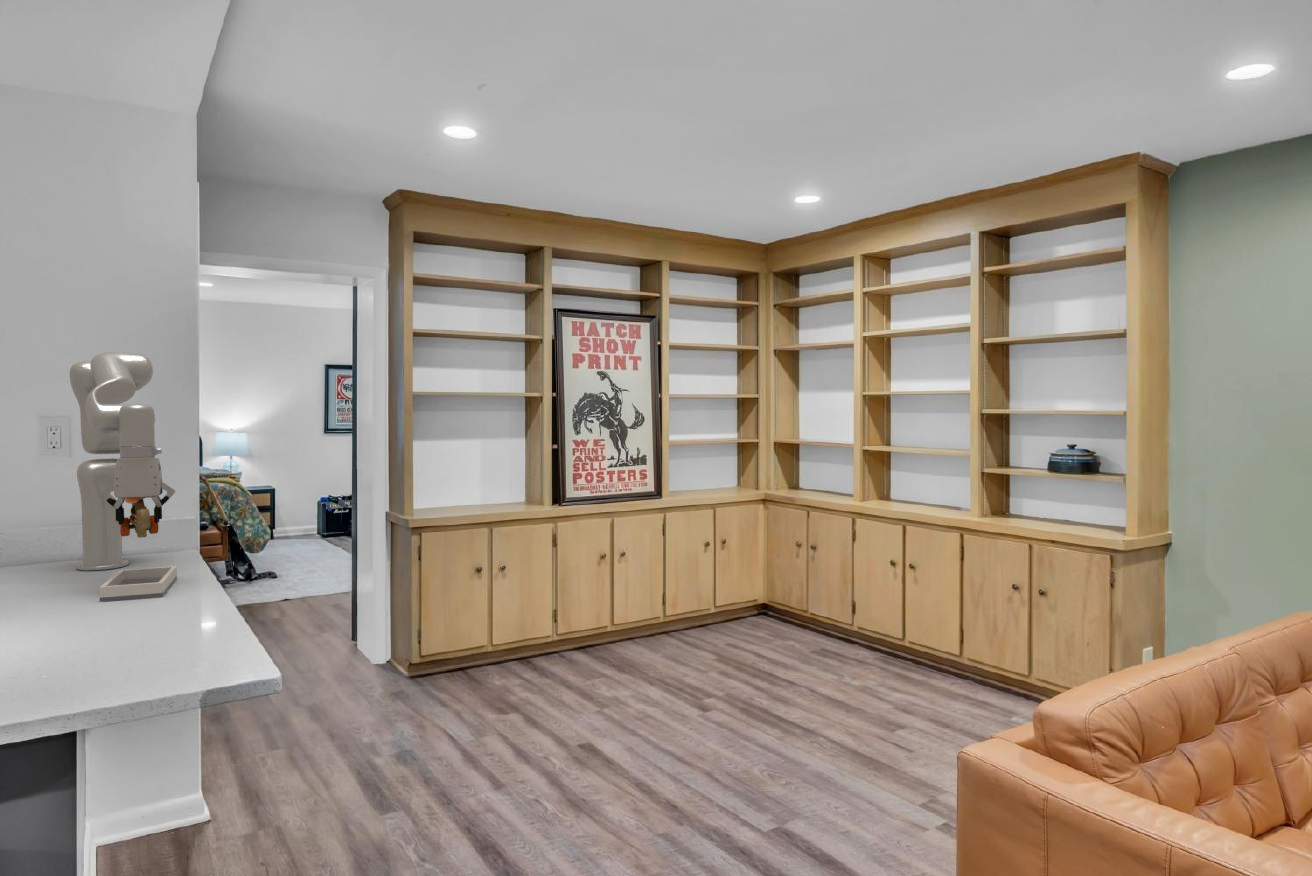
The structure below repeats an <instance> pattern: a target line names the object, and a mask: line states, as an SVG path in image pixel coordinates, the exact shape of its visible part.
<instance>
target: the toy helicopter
mask: <svg viewBox="0 0 1312 876" xmlns="http://www.w3.org/2000/svg"><path fill="white" fill-rule="evenodd" d="M144 499H145V498H126V499H125V501H124V503H127V504H131V508H130V515H129V517H126V516H125V517H124V523H123V524H121V525H120V534H121V536H122V537H128V536H130V533H131V530H133V529H134V530H135V534H136V535H137V536H136V537H137V538H146V537H147V536H148V533H149V534H151V535H153V534H158V533H159V522H158V523H155V522H154V514H153V515H151V514H150V510H149V508H148V507H147V506H146V505H145V500H144ZM147 531H148V532H147Z"/></svg>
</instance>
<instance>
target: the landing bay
mask: <svg viewBox="0 0 1312 876" xmlns="http://www.w3.org/2000/svg"><path fill="white" fill-rule="evenodd" d="M177 572H178V568H177V565H175V566H174V565H173V566H160V567H159V566H158V567H147V568H146V567H144V568H133V569H132V568H131V569H120V570H118V572H116V573H115V574H114V575H112V576H111V577H110V578H109V579H107V580H106V581H105V582H104V583H102V585H100V586H99V588H98V589H99V590H98V591H99V602H100V601H105V602H115V601H126V600H127V601H128V600H139V599H140V600H141V599H142V598H143V599H153V598H152V597H155V598H162V597H161V596H163V595H164V594H165V593H166V594H167V592H168V591H169V590H170V588H171V587H172V586H173V585H174V584H175V582H176V581H177V580H176V579H178V573H177ZM175 580H176V581H175ZM174 581H175V582H174ZM172 584H173V585H172ZM169 587H170V588H169ZM168 589H169V590H168ZM167 590H168V591H167ZM166 594H165V595H166ZM165 595H164V596H165ZM164 596H163V597H164Z"/></svg>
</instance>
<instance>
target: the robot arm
mask: <svg viewBox="0 0 1312 876" xmlns="http://www.w3.org/2000/svg"><path fill="white" fill-rule="evenodd" d="M153 373H154V368H153V363H152V362H151V360H150V358H148V356H146V355H145V354H143V353H138V352H136V353H131V352H111V351H110V352H108V351H107V352H101V353H99V354H97V355H95V356H94V357H92V358H91V360H85V361H79V362H75V363H73V365H71V367H70V369H69V383H70V386H71V390H72V392H73V394H74V396H75V399H76V400H77V402H78V407H79V412H80V416H79V417H80V418H79V419H80V435H81V445H82V448H83V450H84V452H86V453H87V454H91V455H118V454H119V457H118V458H114V457H113V458H95V459H89V460H85V461H83V462H81V463H80V464H78V466H77V470H76V477H77V483H78V488H79V492H80V493H79V495H80V501H81V503H80V504H81V532H82V533H81V534H82V535H81V537H82V540H81V541H82V562H81V563H78V564H77V565H76V569H77V570H79V571H102V570H103V571H104V570H113V569H118V568H122V567H126V566H128V565H129V564H130V563H129V559H123V536H121V534H120V525H121V524H123V523H124V518H125V508H124V507H123V504H124V503H125V500H126V499H127V498H144V499H149V498H150V499H151V500H152V501H153V503H154V508H153V515H154V522H155V523H158V524H159V522H160V520H162V519H163V509H162V506H163V505H165V504H166V503H167V502H168V501H169V500H170V499H171V498H172V496H173V495H175V493H176V490H175V488H172V487H171V486H170V485H168V483H167V484H166V483H165V482H163V475H162V474H163V473H162V467H161V462H160V458H159V457H158V458H156V456H157V455H161V454H163V453H162V448H158V447H156V437H155V436H156V435H155V424H156V417H155V416H156V415H155V409H154V408H153V406H151V405H148V404H139V403H138V404H137V403H133V404H132V403H128V404H127V403H126V402H127V401H129V400H131V398H133V397H134V395H135V394H136V392H137V391H140V390H141V389H143V388H144V387H145V386H146V385H148V384H149V383H150V382H151V380H152V379H153V378H152V377H153V376H154V375H153ZM163 491H165V492H166V494H165V495H164V496H163V497H162V498H161V497H160V496H161V495H162V494H163ZM112 492H113V495H114V496H113V495H112V494H111V493H112Z"/></svg>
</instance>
